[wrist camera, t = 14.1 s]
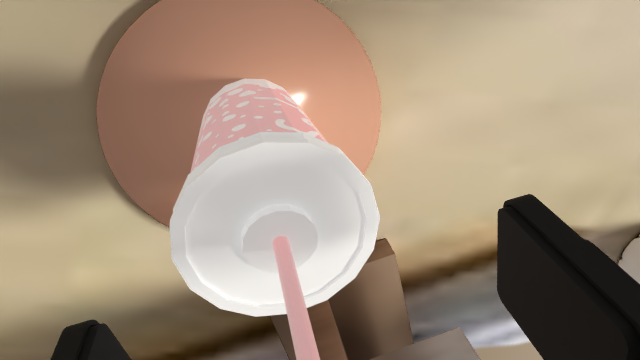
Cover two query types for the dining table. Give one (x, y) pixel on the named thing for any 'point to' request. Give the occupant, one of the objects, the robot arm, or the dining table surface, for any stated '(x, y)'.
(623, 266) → the water bottle
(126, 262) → the dining table surface
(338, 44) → the peach round disc
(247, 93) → the beverage cup
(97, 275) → the dining table surface
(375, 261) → the mount stand
